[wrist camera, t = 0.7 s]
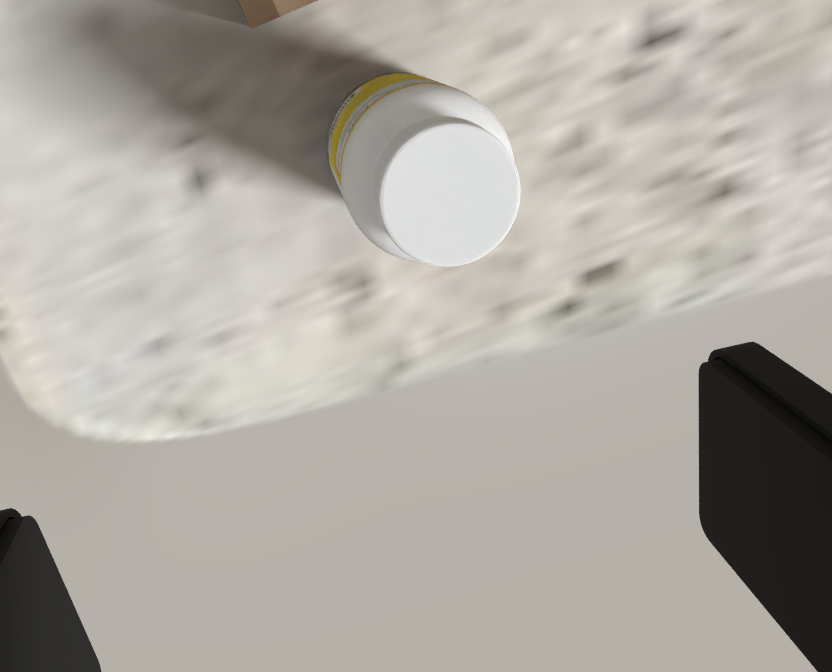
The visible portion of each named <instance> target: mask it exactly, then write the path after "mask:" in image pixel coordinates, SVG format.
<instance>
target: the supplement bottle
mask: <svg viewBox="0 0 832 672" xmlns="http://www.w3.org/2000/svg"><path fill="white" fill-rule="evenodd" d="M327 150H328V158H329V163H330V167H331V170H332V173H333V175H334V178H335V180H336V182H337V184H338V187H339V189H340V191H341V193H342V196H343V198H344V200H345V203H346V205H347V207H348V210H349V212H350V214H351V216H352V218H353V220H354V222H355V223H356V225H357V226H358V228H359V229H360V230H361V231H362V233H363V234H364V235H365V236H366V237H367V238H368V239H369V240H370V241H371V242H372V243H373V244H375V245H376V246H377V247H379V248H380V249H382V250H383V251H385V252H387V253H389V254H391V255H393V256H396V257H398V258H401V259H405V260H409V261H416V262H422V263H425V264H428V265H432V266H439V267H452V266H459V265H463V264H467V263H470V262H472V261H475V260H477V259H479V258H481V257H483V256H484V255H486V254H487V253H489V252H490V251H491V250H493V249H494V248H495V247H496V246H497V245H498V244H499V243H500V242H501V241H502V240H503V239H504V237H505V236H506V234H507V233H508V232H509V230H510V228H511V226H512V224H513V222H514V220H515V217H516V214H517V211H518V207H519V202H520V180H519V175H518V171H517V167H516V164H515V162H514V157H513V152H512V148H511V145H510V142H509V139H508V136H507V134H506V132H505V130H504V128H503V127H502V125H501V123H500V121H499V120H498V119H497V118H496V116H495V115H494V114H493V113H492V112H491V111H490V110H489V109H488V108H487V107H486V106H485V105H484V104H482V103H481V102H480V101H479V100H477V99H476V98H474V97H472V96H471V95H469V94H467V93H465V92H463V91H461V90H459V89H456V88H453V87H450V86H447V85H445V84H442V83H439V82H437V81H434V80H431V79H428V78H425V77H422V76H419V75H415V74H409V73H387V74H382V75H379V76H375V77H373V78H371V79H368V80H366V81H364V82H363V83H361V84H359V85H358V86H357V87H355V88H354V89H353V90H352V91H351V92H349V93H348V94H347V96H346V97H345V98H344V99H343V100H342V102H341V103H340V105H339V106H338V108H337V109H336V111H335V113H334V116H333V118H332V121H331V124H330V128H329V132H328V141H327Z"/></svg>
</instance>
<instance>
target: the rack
mask: <svg viewBox="0 0 832 672" xmlns="http://www.w3.org/2000/svg"><path fill="white" fill-rule="evenodd" d="M238 1H239V3H240V5H241V8H242V10H243V12H244V14H245V17H246V19H247V21H248V23H249V26H250V28H254V27H256V26H258V25H261V24H263V23H265V22H268V21H270V20H272V19H275V18H277V17H280V16H282V15H284V14H287V13H289V12H291V11H294V10H296V9H298V8H301V7H303V6H305V5H308V4H310V3H313V2H315V1H317V0H238Z"/></svg>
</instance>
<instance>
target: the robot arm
mask: <svg viewBox="0 0 832 672" xmlns="http://www.w3.org/2000/svg"><path fill="white" fill-rule="evenodd" d="M699 515H700V521H701V525H702V528H703V530H704V533H705V535H706V537H707V538H708V539H709V541H710V542H711V543H712V545H713V546H714V547H715V548H716V549H717V551H718V552H719V553H720V554H721V555H722V557H723V558H724V559H725V560H726V561H727V563H728V564H729V565H730V566H731V567H732V569H733V570H734V571H735V572H736V574H737V575H738V576H739V577H740V578H741V580H742V581H743V582H744V583H745V584H746V586H747V587H748V588H749V589H750V590H751V592H752V593H753V594H754V595H755V596H756V598H757V599H758V600H759V601H760V602H761V604H762V605H763V606H764V607H765V609H766V610H767V611H768V612H769V613H770V614H771V616H772V617H773V618H774V619H775V621H776V622H777V623H778V624H779V625H780V627H781V628H782V629H783V630H784V631H785V633H786V634H787V635H788V636H789V637H790V639H791V640H792V641H793V642H794V643H795V645H796V646H797V647H798V648H799V650H800V651H801V652H802V653H803V654H804V656H805V657H806V658H807V659H808V660H809V661H810V663H811V664H812V665H813V666H814V668H815V669H816V670H817V671H818V672H832V394H831V393H830V392H828V391H826V390H825V389H824V388H822V387H821V386H819V385H818V384H816V383H815V382H813V381H812V380H811V379H809V378H808V377H806V376H805V375H803V374H802V373H800V372H799V371H797V370H796V369H794V368H793V367H791V366H790V365H788V364H787V363H785V362H784V361H783V360H781V359H780V358H778V357H777V356H775V355H774V354H772V353H771V352H769V351H768V350H766V349H765V348H764V347H762V346H760V345H759V344H757V343H755V342H748V343H744V344H739V345H735V346H730V347H726V348H721V349H717V350H714V351H713V352H711V354H710V356H709V359H708V362H705V363H703V364H701V366H700V369H699ZM0 672H101V668H100V664H99V661H98V659H97V657H96V654H95V652H94V650H93V647H92V645H91V643H90V641H89V638H88V636H87V634H86V632H85V629H84V627H83V625H82V623H81V620H80V618H79V616H78V614H77V612H76V609H75V607H74V605H73V602H72V600H71V598H70V596H69V593H68V591H67V589H66V587H65V584H64V582H63V580H62V577H61V575H60V573H59V571H58V569H57V566H56V564H55V562H54V559H53V557H52V555H51V553H50V550H49V548H48V546H47V544H46V541H45V539H44V537H43V535H42V533H41V530H40V528H39V526H38V524H37V522H36V521H35V519H34V518H33V517H32V516H24V517H22V516H21V515H20V514H19V513H18V512H17V511H16V510H15V509H12V508H10V509H5V510H1V511H0Z"/></svg>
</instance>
